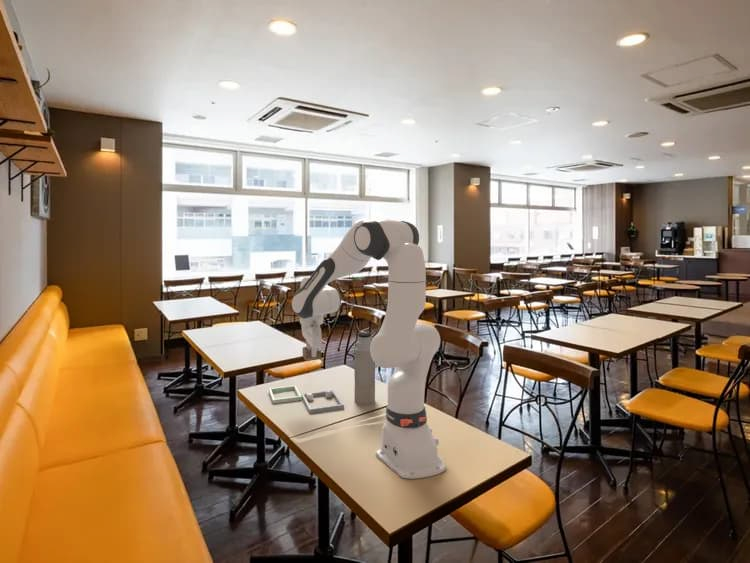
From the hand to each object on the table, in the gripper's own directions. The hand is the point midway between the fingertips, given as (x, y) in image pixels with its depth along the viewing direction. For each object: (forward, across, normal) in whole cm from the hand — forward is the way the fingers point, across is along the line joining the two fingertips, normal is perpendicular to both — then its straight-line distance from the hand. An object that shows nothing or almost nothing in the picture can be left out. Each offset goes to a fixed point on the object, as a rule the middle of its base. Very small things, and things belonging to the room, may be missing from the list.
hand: (311, 353), depth 170 cm
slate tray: (+20, -3, -4) cm, 21 cm away
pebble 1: (+20, +2, 0) cm, 20 cm away
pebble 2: (+20, +2, -7) cm, 21 cm away
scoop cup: (+2, 0, 0) cm, 2 cm away
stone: (+1, 0, 0) cm, 1 cm away
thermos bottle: (+20, -7, -20) cm, 29 cm away
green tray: (+20, +9, +9) cm, 24 cm away
